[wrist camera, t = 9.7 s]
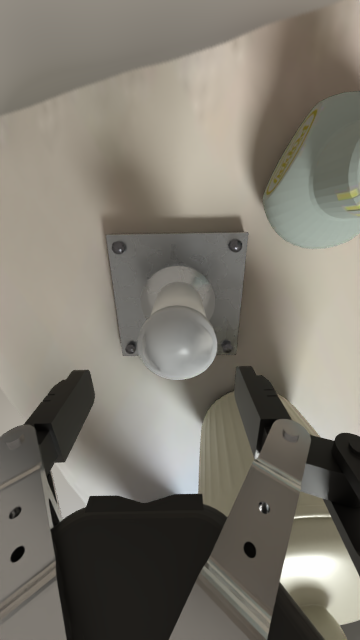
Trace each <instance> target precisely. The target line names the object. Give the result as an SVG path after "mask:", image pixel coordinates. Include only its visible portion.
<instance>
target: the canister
mask: <svg viewBox="0 0 360 640" xmlns="http://www.w3.org/2000/svg"><path fill="white" fill-rule="evenodd" d="M277 395H278V397H279V398H280V400H281V402H282V403H283V405H284V407H285V409H286V410H287V412H288V414H289V415H290V417H291V419H292V420H293V421H295V422H297V423H299V424H301V425H302V426H303V427H304V428H305V429H306V430H307V431H308V433H309V434H310V435H313V436H316V437H320V436H319V435H318V434H317V432H316V431H315V430H314V429H313V428H312V426H311V425H310V424H309V423H308V422H307V420H306V419H305V418H304V417H303V416H302V415H301V413H300V412H299V411H298V410H297V409H296V408H295V407H294V406H293V405H292V404H291V403H290V402H289V401H288V400H287V399H285V398H284V397H282V396H280V395H279V394H277ZM320 438H321V437H320ZM254 460H255V459H254V456H253V453H252V450H251V447H250V444H249V441H248V438H247V435H246V432H245V429H244V425H243V422H242V419H241V416H240V413H239V410H238V407H237V404H236V401H235V395H234V391H233V392H230V393H227V394H226V395H224V396H222V397H221V398H220V399H218V400H216V402H215V403H214V404H212V405H211V407H210V409H209V410H208V411H207V414H206V415H205V417H204V420H203V425H202V429H201V442H200V460H199V489H198V494H202V496H203V504H205V505H209V506H211V507H213V508H215V509H217V510H219V511H220V512H222V513H223V514H224V515H226V516H227V517H228V515H229V513H230V511H231V509H232V507H233V504H234V502H235V500H236V498H237V496H238V493H239V491H240V489H241V487H242V485H243V482H244V480H245V478H246V476H247V473H248V471H249V469H250V467H251V465H252V463H253V461H254ZM256 460H257V459H256ZM280 583H281V584H282V585H283V586H284V588H285V589H286V590H287V592H288V593H289V594H290V595H291V597H292V598H293V599H294V601H295V602H296V603H297V604H298V606H299V607H300V608H301V609H302V611H303V612H304V613H305V615H306V616H307V617H308V618H309V620H310V621H311V622H312V624H313V625H314V626H315V627H316V629H317V630H318V631H319V633H320V634H321V635H322V636H323V638H324V639H325V640H347V638H346V636H345V634H344V632H343V630H342V629H341V627H340V625H342V624H347V623H351V622H354V621H357V620H360V577H359V574H358V572H357V570H356V568H355V566H354V564H353V562H352V560H351V558H350V555H349V553H348V551H347V549H346V547H345V545H344V543H343V541H342V539H341V537H340V534H339V532H338V530H337V528H336V526H335V524H334V522H333V520H332V518H331V515H330V513H329V511H328V509H327V507H326V505H325V503H324V501H323V499H322V498H319V497H316V496H313V495H310V494H307V493H304V492H301V491H300V495H299V499H298V503H297V508H296V512H295V517H294V521H293V525H292V530H291V534H290V538H289V543H288V547H287V552H286V556H285V560H284V565H283V569H282V574H281V578H280Z"/></svg>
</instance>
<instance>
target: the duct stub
mask: <svg viewBox="0 0 360 640" xmlns="http://www.w3.org/2000/svg"><path fill="white" fill-rule="evenodd" d="M137 345H138V353H139V356H140V358H141V360H142V362H143V363H144V365H145V366H146V367H147V368H148V369H149V370H150V371H152V372H153V373H155V374H156V375H158V376H161V377H163V378H167V379H172V380H183V379H189V378H192V377H195V376H197V375H199V374H201V373H202V372H204V371H205V370H206V369H207V368H208V367H209V366H210V365H211V363H212V362H213V360H214V358H215V356H216V352H217V339H216V335H215V332H214V329H213V326H212V324H211V323H210V321H209V320H208V319H207V318H206V314H205V310H204V306H203V303H202V299H201V296H200V294H199V292H198V291H197V289H196V288H194V287H193V286H192V285H190V284H188V283H185V282H173V283H170V284H168V285H166V286H164V287H163V288H162V289H161V290H160V292H159V293H158V295H157V298H156V301H155V304H154V306H153V309H152V312H151V315H150V316H149V317H148V319H147V320H146V321H145V323H144V324H143V326H142V329H141V331H140V334H139V337H138V343H137Z"/></svg>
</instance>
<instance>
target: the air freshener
mask: <svg viewBox="0 0 360 640" xmlns="http://www.w3.org/2000/svg"><path fill="white" fill-rule="evenodd" d="M263 204H264V210H265V213H266V216H267V219H268V221H269V222H270V224H271V226H272V228H273V229H274V230H275V231H276V233H277V234H278V235H279V236H280V237H282V238H283V239H284V240H285V241H287V242H289V243H291V244H293V245H295V246H299V247H302V248H309V249H323V248H329V247H333V246H337V245H340V244H342V243H345V242H347V241H349V240H351V239H352V238H354V237H355V236H357V235H358V234H359V233H360V91H355V92H344V93H341V94H337V95H334V96H331V97H328V98H326V99H324V100H322V101H320V102H319V103H318V104H317V105H316V106H315V107H314V108H313V109H312V110H311V111H310V113H309V114H308V115H307V117H306V118H305V120H304V121H303V123H302V124H301V126H300V127H299V129H298V130H297V132H296V133H295V135H294V136H293V138H292V140H291V141H290V143H289V145H288V146H287V148H286V150H285V151H284V153H283V155H282V157H281V159H280V160H279V162H278V164H277V166H276V168H275V170H274V172H273V174H272V176H271V178H270V180H269V182H268V185H267V187H266V190H265V192H264V196H263Z"/></svg>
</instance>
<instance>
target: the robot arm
mask: <svg viewBox="0 0 360 640" xmlns="http://www.w3.org/2000/svg"><path fill="white" fill-rule="evenodd" d="M234 395H235V401H236V404H237V407H238V410H239V413H240V416H241V419H242V422H243V425H244V429H245V432H246V435H247V438H248V441H249V444H250V447H251V450H252V453H253V456H254V459H255V460H254V461H253V463H252V465H251V467H250V469H249V471H248V473H247V476H246V478H245V480H244V482H243V485H242V487H241V489H240V491H239V493H238V496H237V498H236V500H235V502H234V504H233V507H232V509H231V511H230V513H229V515H228V517H227V516H226V515H224V514H223V513H222V512H220V511H219V510H217V509H215V508H213V507H211V506H209V505H205V504H203V496H202V494H174V495H171V496H168V497H165V498H162V499H159V500H156V501H152V502H149V503H140V502H137V501H134V500H130V499H127V498H124V497H120V496H90V497H89V500H88V503H87V506H86V507H85V508H82V509H80V510H78V511H76V512H74V513H72V514H71V515H69V516H67V517H66V518H65V519H63V517H62V515H61V510H60V507H59V502H58V497H57V493H56V488H55V484H54V479H53V475H52V471H51V468H52V466H53V465H54V463H57V462H65V461H66V459H67V457H68V455H69V453H70V451H71V449H72V446H73V444H74V442H75V440H76V438H77V436H78V434H79V432H80V430H81V428H82V426H83V424H84V422H85V420H86V418H87V416H88V414H89V412H90V410H91V407H92V405H93V403H94V398H95V393H94V388H93V383H92V379H91V375H90V371H89V370H73V371H72V372H71V374H70V375H69V376H68V378H67V379H66V380H62V381H61V382H59V383H58V384H57V385H55V386H54V387H53V388H52V389H51V391H50V392H49V393H48V396H46V397H45V398H44V400H43V402H41V403H40V405H39V406H38V407H37V408H36V410H35V411H34V412H33V414H32V415H31V416H30V417H29V419H28V420H27V421H26V422H25V424H24V425H21V426H17V427H15V428H13V429H11V430H9V431H7V432H6V433H4V434H3V435H2V436H1V437H0V640H325V639H324V638H323V636H322V635H321V634H320V633H319V631H318V630H317V629H316V627H315V626H314V625H313V624H312V622H311V621H310V620H309V618H308V617H307V616H306V615H305V613H304V612H303V611H302V609H301V608H300V607H299V606H298V604H297V603H296V602H295V601H294V599H293V598H292V597H291V595H290V594H289V593H288V592H287V590H286V589H285V588H284V586H283V585H282V584H281V583H280V578H281V574H282V569H283V565H284V560H285V556H286V552H287V547H288V543H289V538H290V534H291V530H292V525H293V521H294V517H295V512H296V508H297V503H298V499H299V495H300V491H301V492H304V493H307V494H310V495H313V496H316V497H319V498H322V499H323V501H324V503H325V505H326V507H327V509H328V511H329V513H330V515H331V518H332V520H333V522H334V524H335V526H336V528H337V530H338V532H339V534H340V537H341V539H342V541H343V543H344V545H345V547H346V549H347V551H348V553H349V555H350V558H351V560H352V562H353V564H354V566H355V568H356V570H357V572H358V574H359V577H360V437H359V436H357V435H354V434H350V433H341V434H339V435H337V436H336V438H335V441H332V440H328V439H324V438H320V437H316V436H313V435H310V434H309V433H308V431H307V430H306V429H305V428H304V427H303V426H302V425H301V424H299V423H297V422H295V421H293V420H292V419H291V417H290V415H289V414H288V412H287V410H286V409H285V407H284V405H283V403H282V402H281V400H280V398H279V397H278V395H277V393H276V391H274V388H273V386H272V385H271V383H270V382H269V381H268V380H267V379H266V378H265V377H263V376H262V375H261V376H256V374H255V372H254V370H253V368H252V367H251V366H240V367H237V368H236V376H235V387H234ZM256 459H257V460H256Z"/></svg>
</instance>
